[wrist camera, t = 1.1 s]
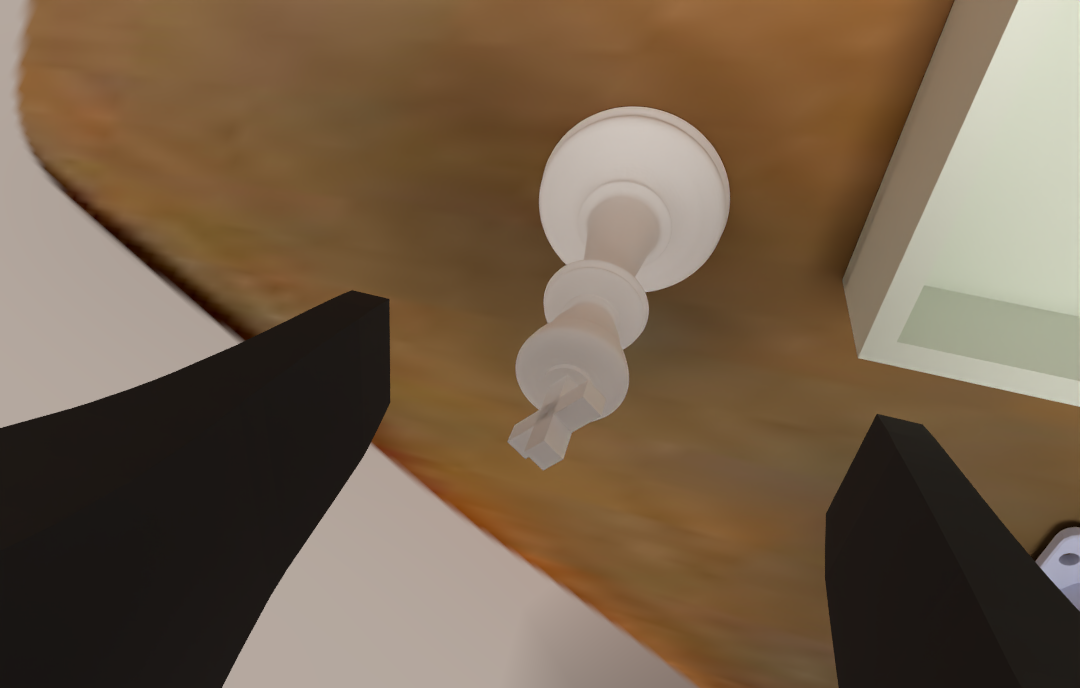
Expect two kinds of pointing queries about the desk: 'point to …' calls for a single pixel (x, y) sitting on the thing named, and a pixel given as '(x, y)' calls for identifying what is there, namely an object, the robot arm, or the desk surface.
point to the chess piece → (612, 260)
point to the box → (982, 210)
